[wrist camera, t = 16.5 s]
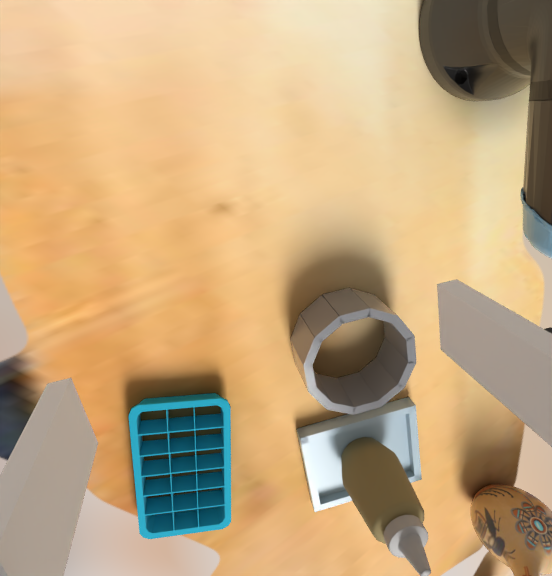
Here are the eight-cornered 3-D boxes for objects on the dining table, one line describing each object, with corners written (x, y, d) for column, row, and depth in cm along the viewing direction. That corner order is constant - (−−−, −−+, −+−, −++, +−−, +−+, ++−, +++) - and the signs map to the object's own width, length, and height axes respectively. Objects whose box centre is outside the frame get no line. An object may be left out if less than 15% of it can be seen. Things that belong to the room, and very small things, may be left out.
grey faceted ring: (386, 278, 55) (411, 297, 49) (395, 368, 60) (419, 396, 54) (283, 304, 54) (296, 327, 48) (301, 394, 58) (314, 425, 52)
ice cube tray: (142, 521, 61) (140, 540, 58) (130, 391, 54) (127, 406, 51) (228, 510, 63) (231, 527, 60) (227, 384, 56) (230, 397, 53)
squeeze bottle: (326, 443, 61) (379, 563, 44) (381, 420, 61) (454, 530, 45) (342, 485, 64) (398, 612, 47) (394, 463, 64) (467, 581, 48)
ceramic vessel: (542, 469, 72) (711, 632, 49) (524, 513, 75) (677, 687, 52) (450, 472, 68) (587, 650, 45) (436, 518, 71) (557, 708, 48)
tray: (408, 396, 62) (415, 405, 60) (414, 469, 67) (421, 479, 65) (296, 428, 60) (299, 438, 58) (311, 501, 65) (314, 512, 63)
